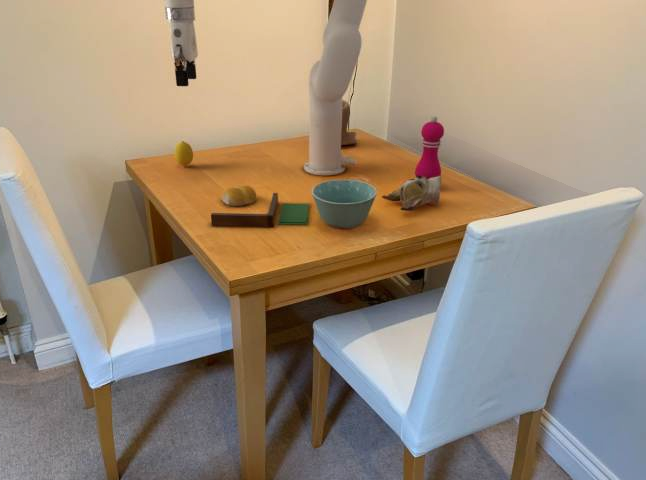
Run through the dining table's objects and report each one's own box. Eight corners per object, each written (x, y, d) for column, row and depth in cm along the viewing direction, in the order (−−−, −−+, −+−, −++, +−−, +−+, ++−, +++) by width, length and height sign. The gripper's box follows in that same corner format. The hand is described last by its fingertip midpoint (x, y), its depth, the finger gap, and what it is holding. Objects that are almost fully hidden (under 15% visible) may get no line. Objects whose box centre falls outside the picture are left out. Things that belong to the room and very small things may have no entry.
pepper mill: (441, 185, 166) (451, 114, 156) (435, 193, 161) (444, 120, 151) (417, 181, 169) (424, 111, 159) (410, 189, 163) (417, 117, 153)
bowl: (328, 239, 135) (329, 206, 131) (301, 215, 148) (301, 184, 144) (386, 228, 141) (389, 196, 137) (356, 205, 153) (357, 175, 149)
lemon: (192, 169, 177) (189, 144, 173) (174, 169, 177) (171, 143, 173) (195, 164, 182) (193, 138, 178) (178, 163, 182) (175, 138, 178)
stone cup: (319, 151, 193) (320, 105, 185) (311, 141, 203) (312, 97, 195) (363, 149, 196) (365, 103, 188) (353, 139, 206) (355, 95, 198)
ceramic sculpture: (453, 176, 147) (403, 188, 142) (451, 207, 151) (401, 220, 147) (429, 164, 155) (380, 174, 151) (427, 194, 160) (380, 205, 155)
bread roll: (261, 202, 155) (261, 188, 153) (231, 209, 151) (230, 194, 149) (247, 192, 161) (246, 178, 159) (217, 199, 157) (216, 185, 155)
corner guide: (278, 203, 154) (277, 192, 153) (273, 227, 141) (272, 215, 140) (221, 202, 155) (221, 191, 153) (211, 226, 142) (210, 213, 140)
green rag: (308, 204, 154) (308, 202, 153) (306, 225, 142) (306, 223, 142) (282, 204, 154) (282, 202, 154) (278, 224, 143) (278, 222, 142)
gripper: (186, 18, 146) (193, 89, 154) (201, 11, 160) (206, 76, 169) (157, 18, 146) (165, 88, 155) (174, 11, 161) (181, 76, 170)
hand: (186, 82), depth 162 cm, fingers open, 9 cm apart
